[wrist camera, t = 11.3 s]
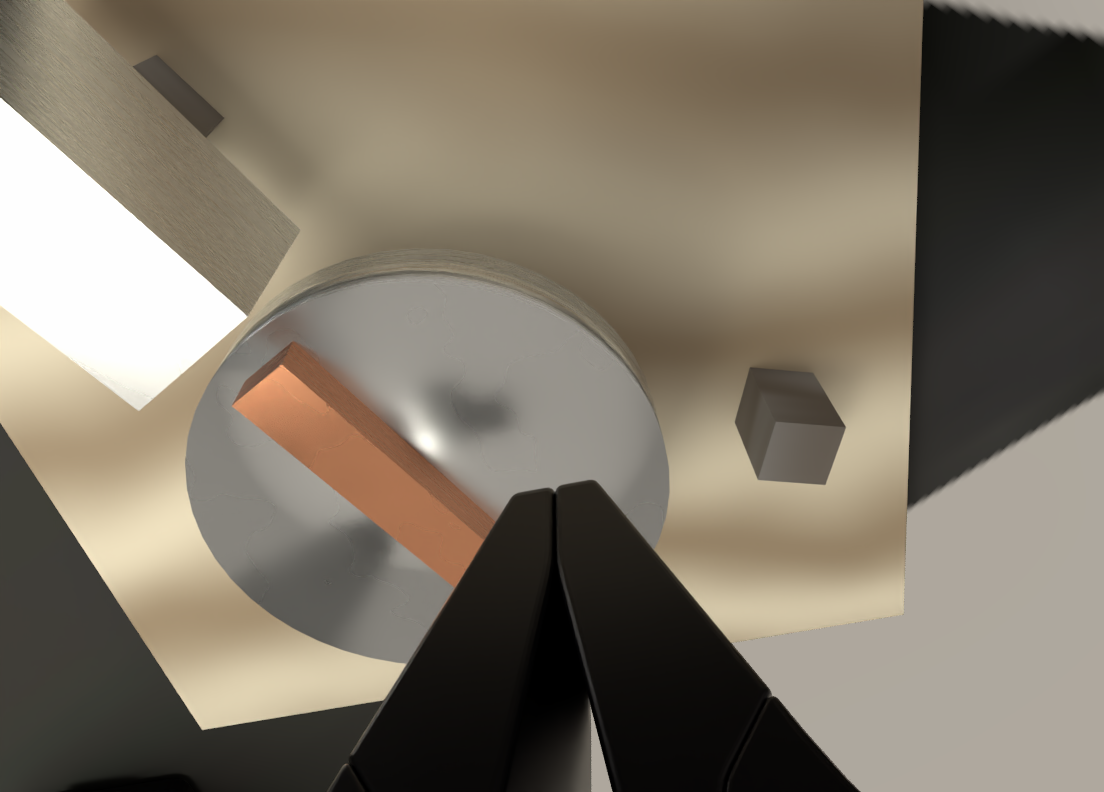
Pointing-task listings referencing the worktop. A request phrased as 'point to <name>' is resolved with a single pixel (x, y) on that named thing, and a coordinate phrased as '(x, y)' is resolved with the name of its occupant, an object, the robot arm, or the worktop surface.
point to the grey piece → (302, 353)
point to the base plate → (562, 256)
